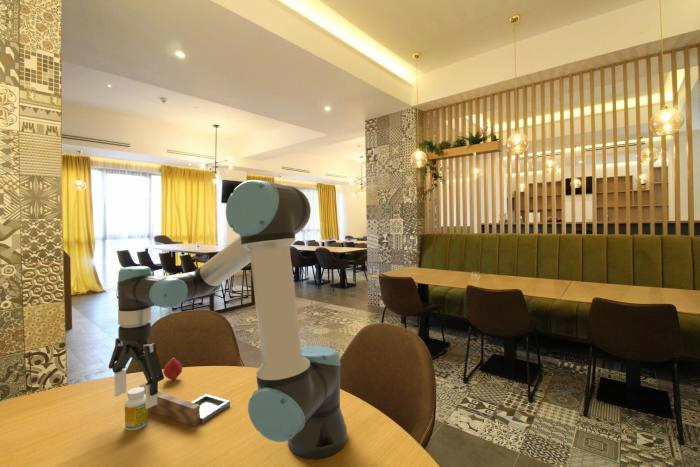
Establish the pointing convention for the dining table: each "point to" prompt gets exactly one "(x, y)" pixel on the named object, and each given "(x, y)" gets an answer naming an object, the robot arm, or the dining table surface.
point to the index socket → (210, 406)
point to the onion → (172, 369)
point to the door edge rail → (176, 408)
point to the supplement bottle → (136, 409)
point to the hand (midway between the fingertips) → (135, 400)
